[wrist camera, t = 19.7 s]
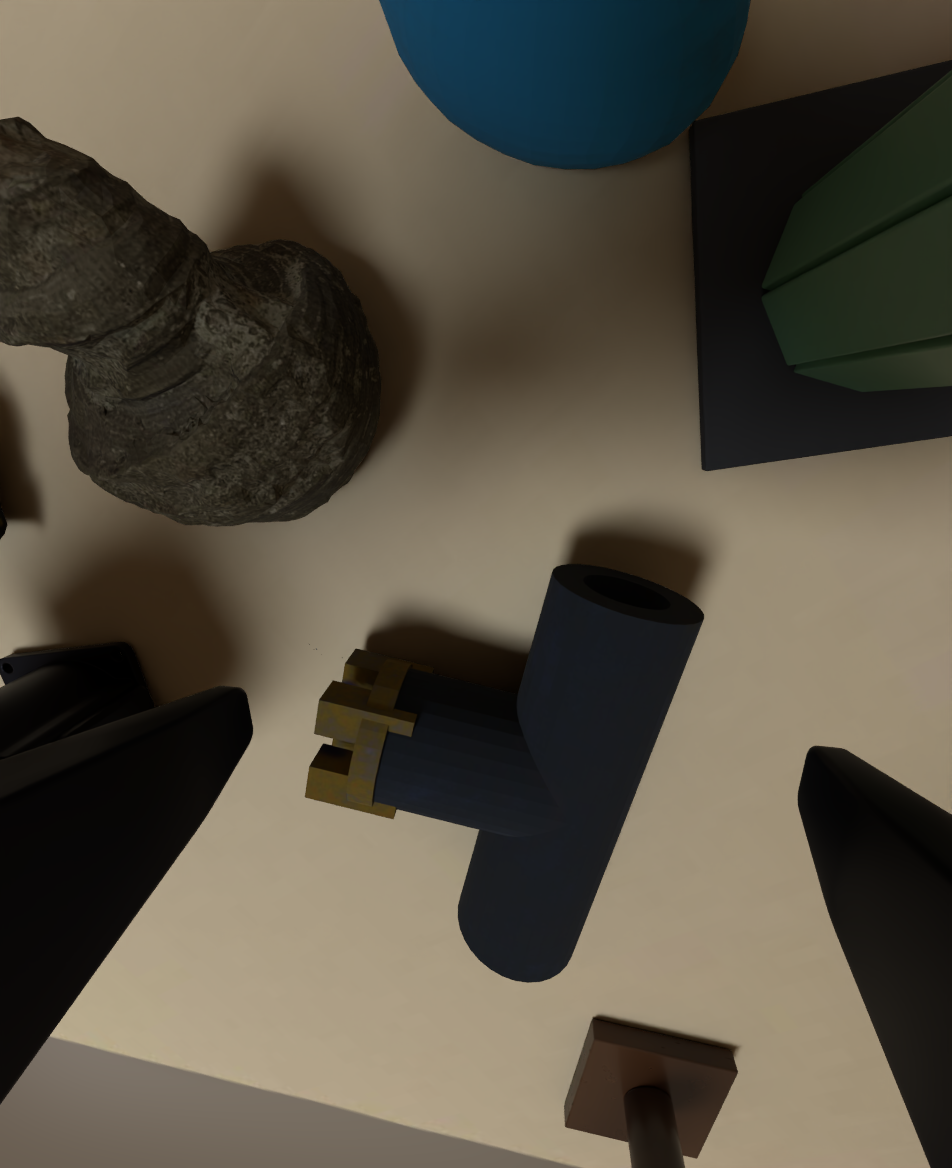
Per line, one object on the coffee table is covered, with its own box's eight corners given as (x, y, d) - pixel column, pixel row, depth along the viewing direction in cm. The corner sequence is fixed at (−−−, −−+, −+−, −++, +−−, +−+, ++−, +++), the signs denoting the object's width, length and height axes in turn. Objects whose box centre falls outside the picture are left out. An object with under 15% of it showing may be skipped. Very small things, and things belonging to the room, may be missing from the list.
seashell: (387, 39, 11) (-77, -47, 11) (194, 580, 8) (-428, 446, 8) (424, 380, 22) (188, 332, 22) (347, 661, 19) (77, 603, 19)
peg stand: (563, 1104, 29) (570, 1271, 24) (592, 1017, 27) (606, 1177, 21) (692, 1135, 29) (730, 1312, 23) (731, 1049, 27) (784, 1221, 21)
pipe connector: (280, 926, 20) (334, 546, 15) (329, 822, 25) (382, 513, 20) (580, 1001, 20) (729, 641, 15) (569, 882, 25) (678, 584, 20)
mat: (701, 469, 19) (705, 471, 18) (688, 129, 16) (693, 120, 15) (1027, 423, 17) (1041, 423, 17) (1078, 37, 14) (1096, 24, 14)
